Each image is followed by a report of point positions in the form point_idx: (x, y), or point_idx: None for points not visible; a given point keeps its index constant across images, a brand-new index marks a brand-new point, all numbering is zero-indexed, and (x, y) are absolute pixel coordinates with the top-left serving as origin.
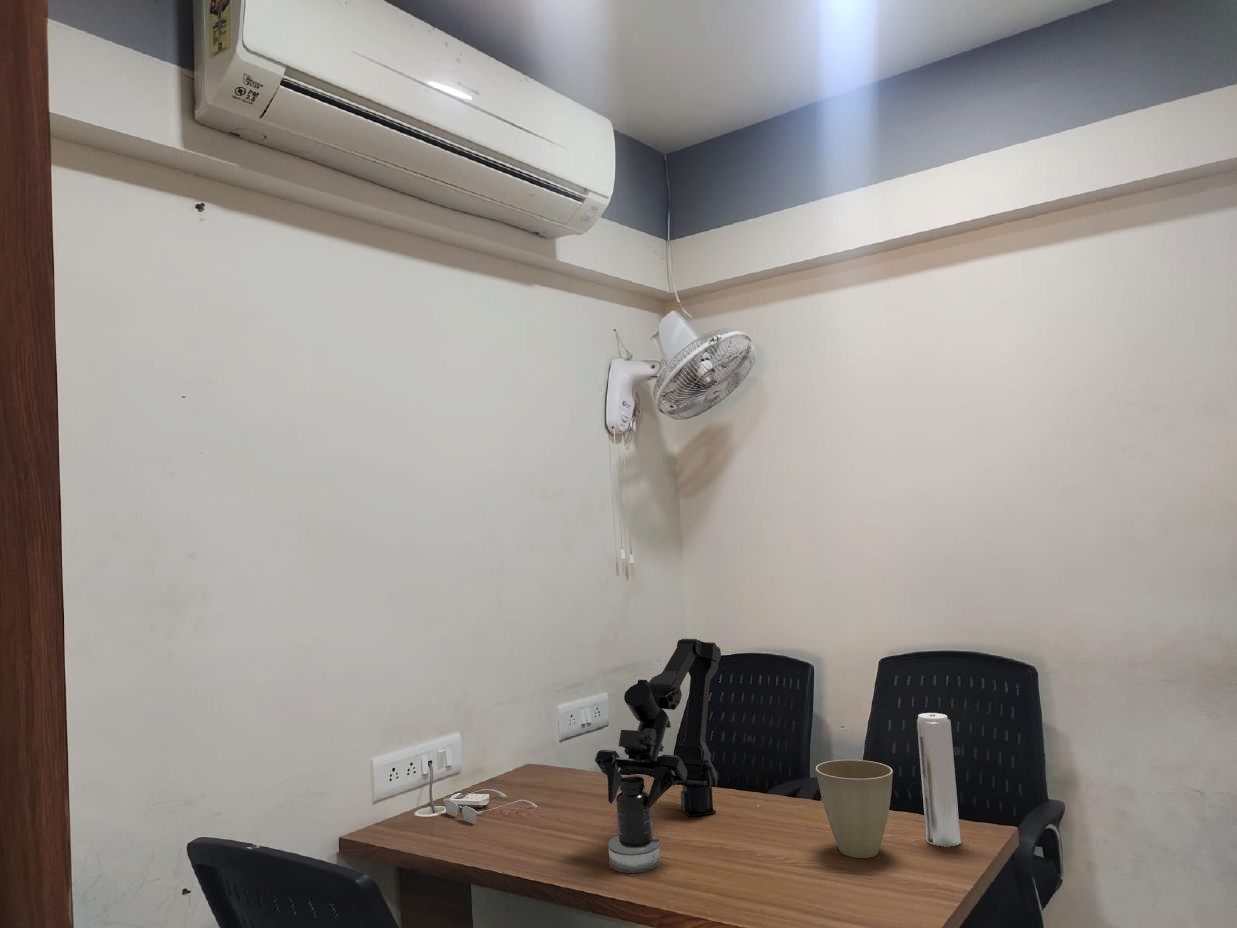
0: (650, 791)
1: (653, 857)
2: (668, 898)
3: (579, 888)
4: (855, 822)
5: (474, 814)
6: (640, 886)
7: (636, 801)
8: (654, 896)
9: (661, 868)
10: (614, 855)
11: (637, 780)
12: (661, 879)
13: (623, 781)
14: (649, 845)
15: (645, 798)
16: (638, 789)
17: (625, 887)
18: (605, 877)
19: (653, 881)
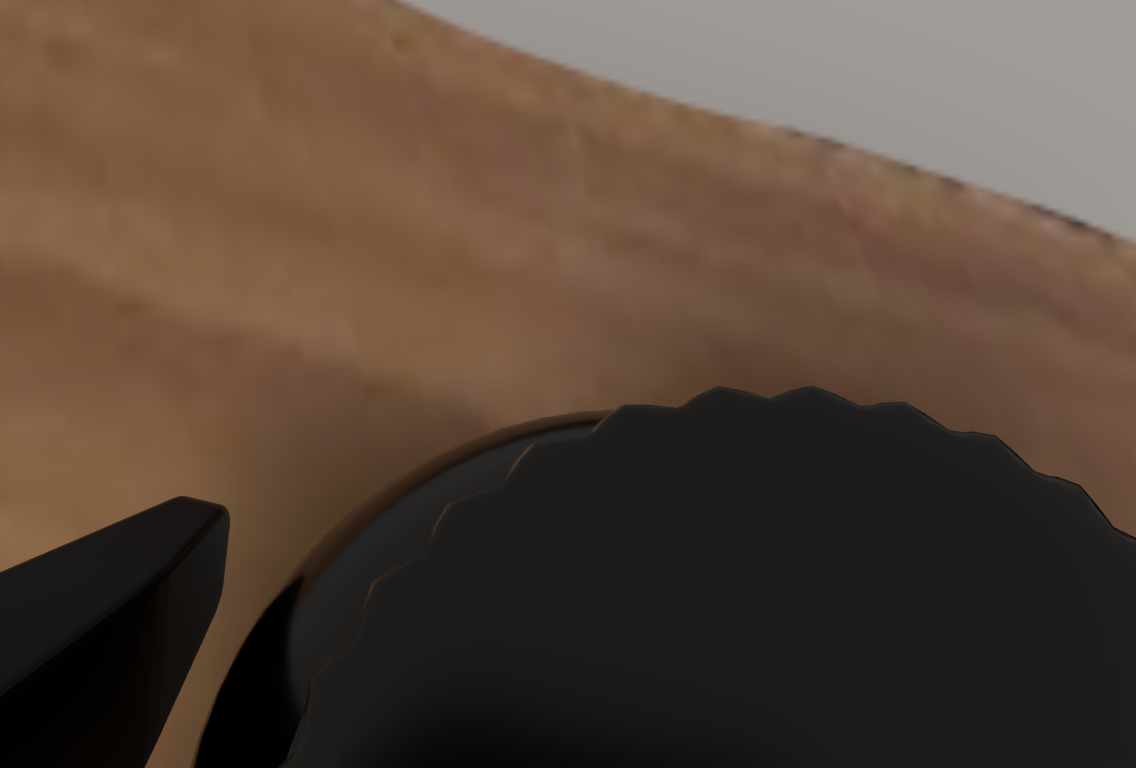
0: (25, 664)
1: None
2: (98, 52)
3: (842, 164)
4: None
5: None
6: (366, 239)
7: (466, 445)
8: (218, 76)
9: (228, 662)
10: None
11: (506, 724)
12: (197, 396)
13: (1086, 562)
14: None
15: (256, 656)
16: (427, 541)
17: (488, 210)
18: (715, 384)
19: (267, 347)
